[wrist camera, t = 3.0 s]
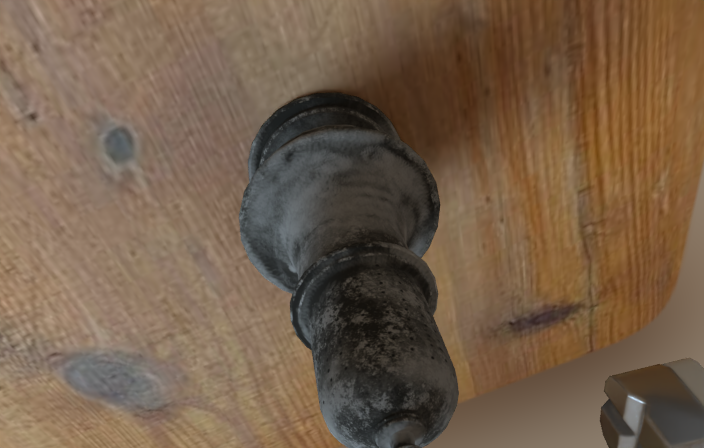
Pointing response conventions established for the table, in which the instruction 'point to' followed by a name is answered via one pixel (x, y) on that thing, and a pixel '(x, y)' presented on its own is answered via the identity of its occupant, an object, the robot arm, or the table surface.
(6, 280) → the table surface
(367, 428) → the chess piece
